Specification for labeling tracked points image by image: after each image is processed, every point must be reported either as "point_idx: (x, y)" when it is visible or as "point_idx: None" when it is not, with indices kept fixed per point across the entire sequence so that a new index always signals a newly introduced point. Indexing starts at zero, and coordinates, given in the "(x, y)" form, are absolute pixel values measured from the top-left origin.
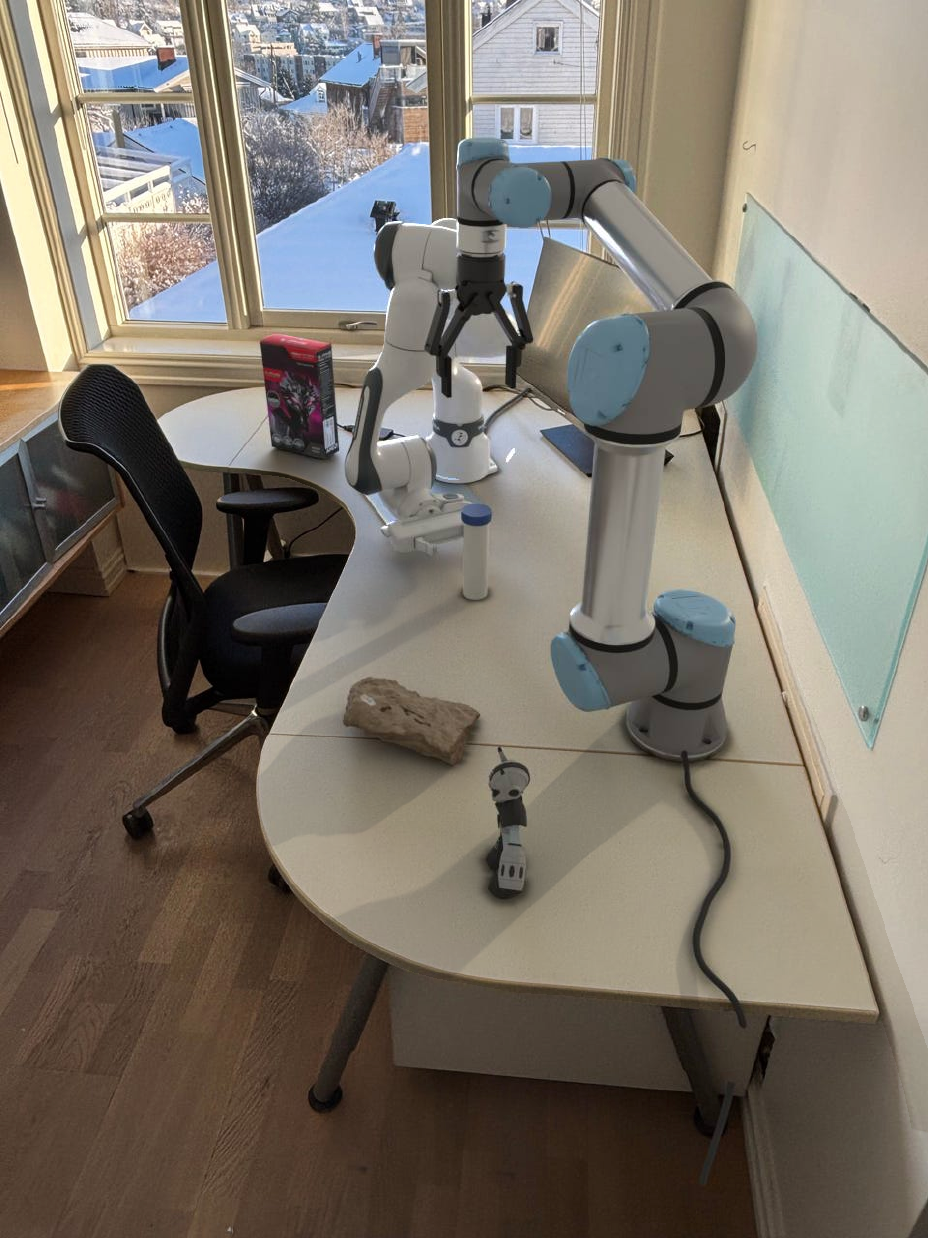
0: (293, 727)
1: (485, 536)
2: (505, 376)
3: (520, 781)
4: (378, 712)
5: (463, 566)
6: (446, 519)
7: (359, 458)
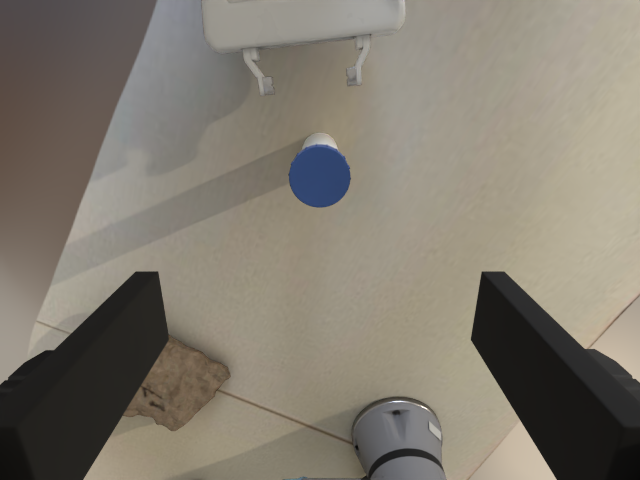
0: (50, 316)
1: None
2: (497, 292)
3: None
4: None
5: None
6: (320, 7)
7: None
